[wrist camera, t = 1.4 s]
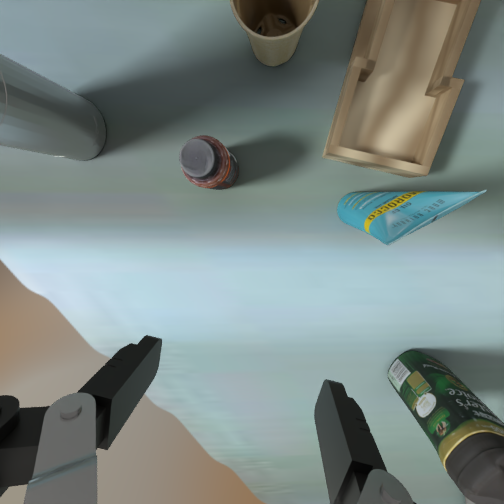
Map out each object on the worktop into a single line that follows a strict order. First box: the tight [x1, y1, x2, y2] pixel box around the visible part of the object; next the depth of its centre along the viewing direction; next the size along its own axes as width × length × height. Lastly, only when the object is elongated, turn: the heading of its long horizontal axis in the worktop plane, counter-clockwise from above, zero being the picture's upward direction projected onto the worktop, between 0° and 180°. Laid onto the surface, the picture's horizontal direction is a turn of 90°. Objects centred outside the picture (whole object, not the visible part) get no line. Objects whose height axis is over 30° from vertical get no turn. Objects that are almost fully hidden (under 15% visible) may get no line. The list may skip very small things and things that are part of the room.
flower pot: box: [230, 0, 319, 66], centre depth 28 cm, size 9×9×9 cm
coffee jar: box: [388, 351, 504, 504], centre depth 32 cm, size 10×8×19 cm
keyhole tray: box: [322, 0, 481, 178], centre depth 30 cm, size 13×21×5 cm, turn 167°
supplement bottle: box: [179, 135, 239, 190], centre depth 31 cm, size 6×6×11 cm
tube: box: [337, 190, 487, 245], centre depth 27 cm, size 7×5×19 cm, turn 128°
